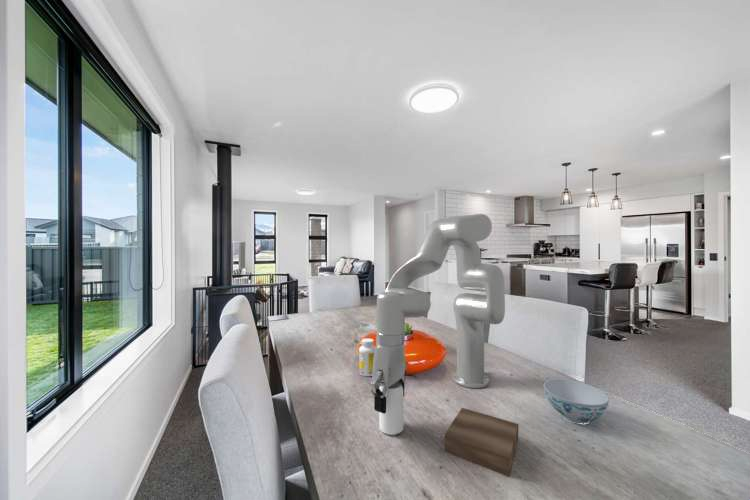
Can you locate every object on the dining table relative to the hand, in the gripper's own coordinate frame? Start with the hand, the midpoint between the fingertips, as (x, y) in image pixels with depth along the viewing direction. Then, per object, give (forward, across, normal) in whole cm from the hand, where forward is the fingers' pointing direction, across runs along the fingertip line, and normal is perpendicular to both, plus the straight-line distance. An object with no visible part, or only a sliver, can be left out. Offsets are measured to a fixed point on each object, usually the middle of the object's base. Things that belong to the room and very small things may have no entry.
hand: (390, 403), depth 77 cm
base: (+7, -7, +22) cm, 24 cm away
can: (+7, -1, 0) cm, 7 cm away
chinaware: (+6, -33, +41) cm, 53 cm away
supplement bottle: (+7, -26, -25) cm, 36 cm away
